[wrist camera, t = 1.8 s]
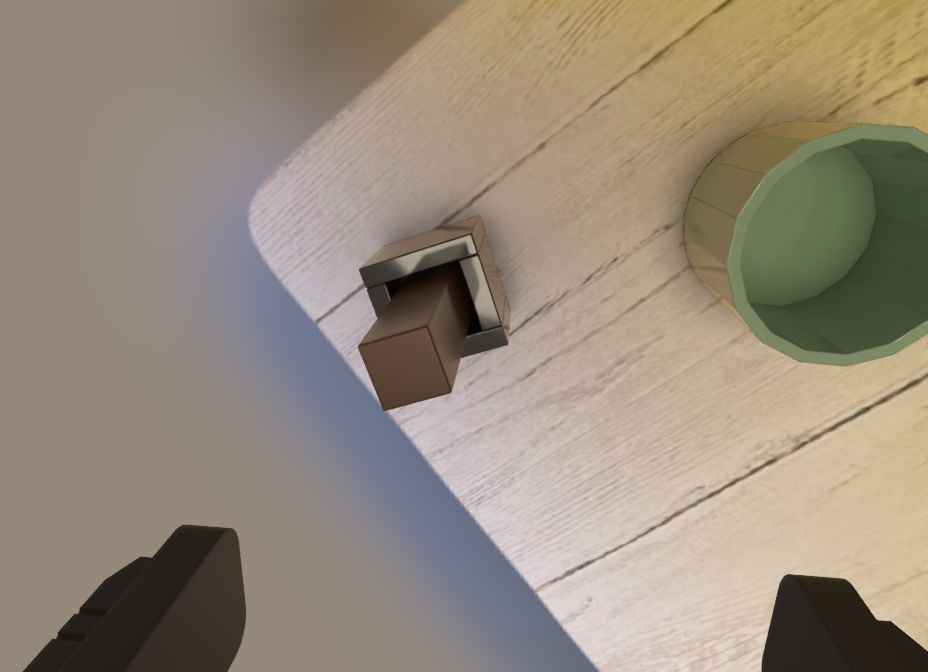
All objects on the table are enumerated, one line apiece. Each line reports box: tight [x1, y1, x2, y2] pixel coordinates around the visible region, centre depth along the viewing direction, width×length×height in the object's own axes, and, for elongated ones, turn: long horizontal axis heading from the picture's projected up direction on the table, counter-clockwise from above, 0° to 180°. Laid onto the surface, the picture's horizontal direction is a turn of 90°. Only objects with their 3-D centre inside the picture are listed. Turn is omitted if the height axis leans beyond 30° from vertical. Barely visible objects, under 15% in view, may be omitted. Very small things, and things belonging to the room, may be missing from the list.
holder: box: [359, 215, 511, 358], centre depth 29 cm, size 5×5×5 cm
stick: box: [358, 260, 474, 411], centre depth 26 cm, size 2×2×12 cm
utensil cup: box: [684, 122, 928, 366], centre depth 26 cm, size 9×9×7 cm
